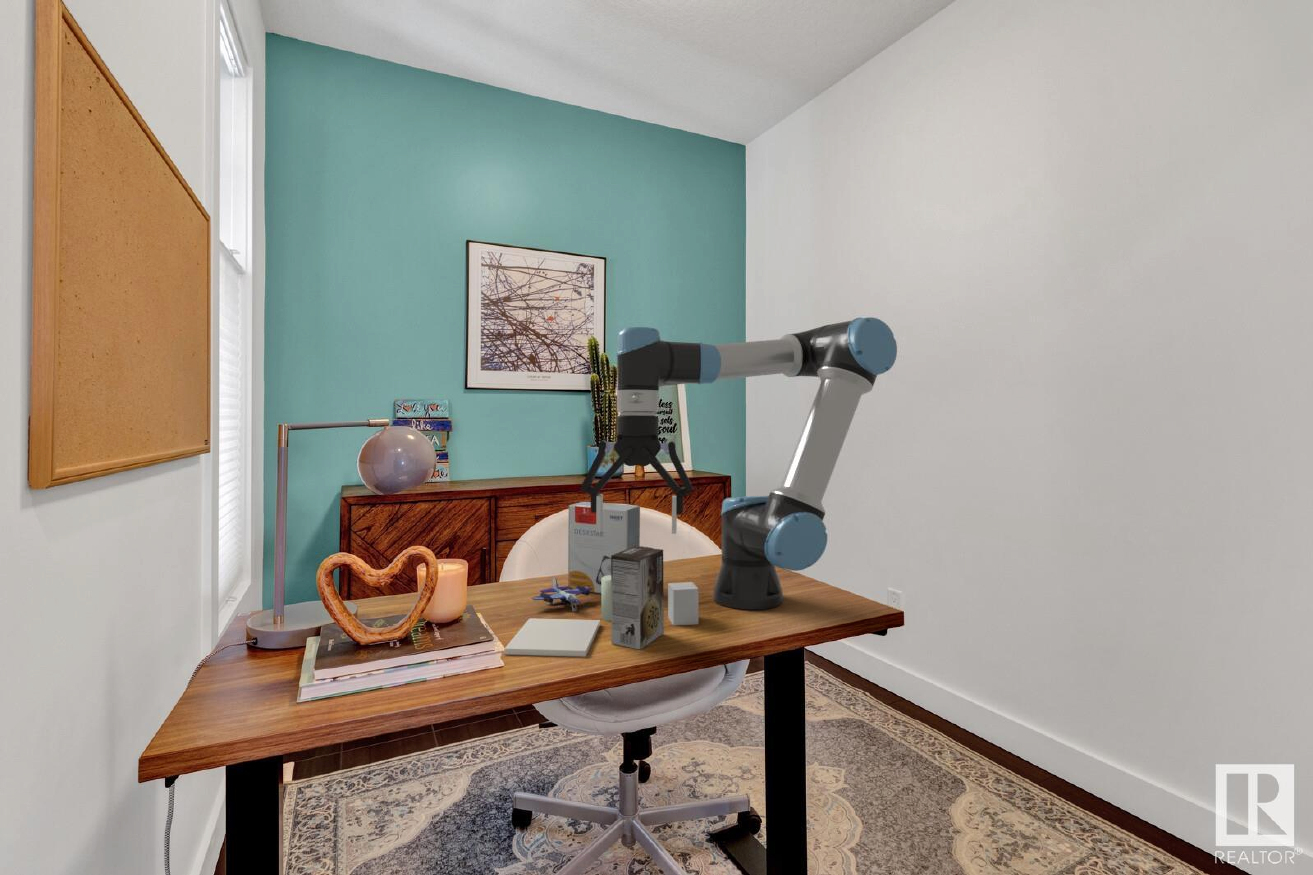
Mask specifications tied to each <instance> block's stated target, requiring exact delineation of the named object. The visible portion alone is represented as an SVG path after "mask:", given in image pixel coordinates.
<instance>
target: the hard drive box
mask: <svg viewBox="0 0 1313 875" xmlns="http://www.w3.org/2000/svg"><path fill="white" fill-rule="evenodd" d="M640 516H641V507H640V505H635V504H634V505H630V504H620V503H607V502H606V503H605V502H603V530H602V531H601V532H596V513H592V512H591V501H581V502H576V503H573V504H570V505H568V534H567V535H568V541H567V542H568V544H567V545H568V550H567V554H568V556H567V557H568V558H567V560H568V562H567V564H568V566H567V567H568V568H567V569H568V571H567V572H568V573H567V576H568V578H567V580H568V581H567V586H570V587H572V588H570V589H569V590H573V589H576V587H577V586H583V587H590V588H592V590H590V593H597V594H601V578H602V577H604V576H608V575H611V555H614V554H616V553H619V552H621V551H624V550H626V549H629V548H631V547H634V546H640V544H641V543H640V542H641V541H640V537H641V536H640V534H641V528H640V527H641V517H640Z"/></svg>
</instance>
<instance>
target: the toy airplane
mask: <svg viewBox="0 0 1313 875" xmlns="http://www.w3.org/2000/svg"><path fill="white" fill-rule="evenodd" d="M570 588H572V587H570V586H568V585H566V586H559V583H558V580H557V578H556V577H552V587H550V588H545V589H542V590H539V593H540V594H539V595H537V596H532V597H531V599H532V600H533V601H544V602H546V603H549V604H550V605H551V606H552V605H553V604H554V600H560V602H561V604H564V605H566V606H568V605H569V606H571V608H572V609H571V610H572V612H573V613H576V612H577V610H578V609H577V607H576V606H575V607H573V604H575V605H577V604H579V605H582V606H584V607H586V606H585V605H584V604H583V603H581V602H580V601H579V599H578V595H585V596H589V595H590V594H591V592H590V590H592V588H590V587H583V586H577V587H576V589H570ZM548 593H549V594H548Z"/></svg>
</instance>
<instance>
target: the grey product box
mask: <svg viewBox="0 0 1313 875" xmlns="http://www.w3.org/2000/svg"><path fill="white" fill-rule="evenodd" d="M664 589H665V588H664V549H660V548H654V547H649V546H642V545H641V546H634V547H631V548H629V549H626V550H624V551H621V552H619V553H616V554H614V555H611V621H610V622H611V623H610V628H611V629H610V631H611V634H610V636H611V637H610V638H611V640H610V643H611V644H612V645H617V646H622V647H624V648H625V647H626V648H631V649H636V650H643V649H644V648H645V647H646V646H648V645H649V644H651V643H652V642H653V641H655V640H656V639H658V638H660V637H661V636H662V635H664V633H665V632H664V629H665V627H664V624H665V623H664V622H665V621H664V618H665V616H664V614H665V613H664V611H665V610H664V609H665V608H664V592H665V591H664Z"/></svg>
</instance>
